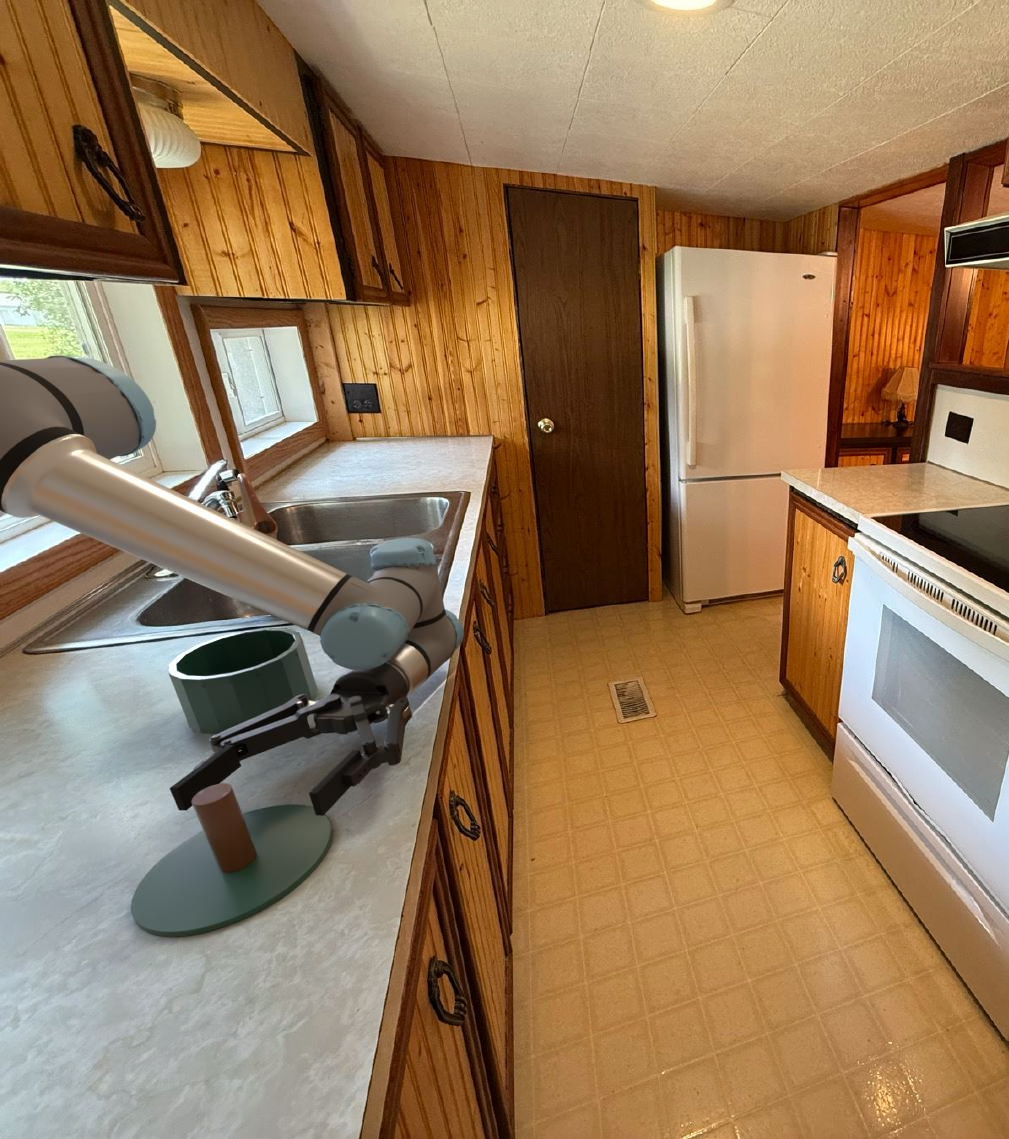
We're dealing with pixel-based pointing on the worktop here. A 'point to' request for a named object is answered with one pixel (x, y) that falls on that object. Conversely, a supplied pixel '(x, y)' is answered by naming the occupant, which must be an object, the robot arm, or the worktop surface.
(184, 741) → the worktop surface
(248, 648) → the pot
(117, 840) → the worktop surface
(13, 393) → the robot arm
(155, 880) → the lid
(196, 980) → the worktop surface
